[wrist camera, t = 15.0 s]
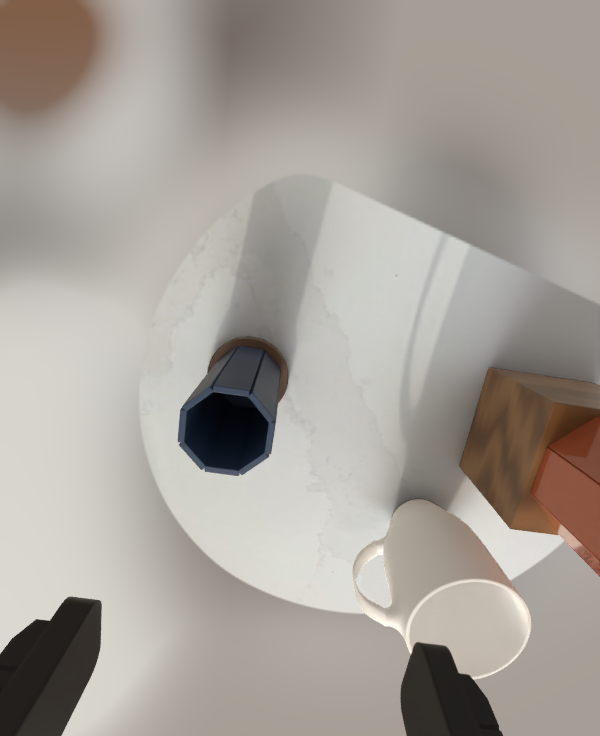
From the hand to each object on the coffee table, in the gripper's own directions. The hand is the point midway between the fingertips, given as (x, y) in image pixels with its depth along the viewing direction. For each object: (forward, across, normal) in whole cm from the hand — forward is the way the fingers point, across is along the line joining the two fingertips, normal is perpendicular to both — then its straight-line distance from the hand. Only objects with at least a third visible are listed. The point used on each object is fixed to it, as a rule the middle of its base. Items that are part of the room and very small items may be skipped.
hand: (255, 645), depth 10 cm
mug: (+26, -14, +14) cm, 32 cm away
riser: (+26, -23, +2) cm, 34 cm away
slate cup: (+24, +3, +1) cm, 25 cm away
